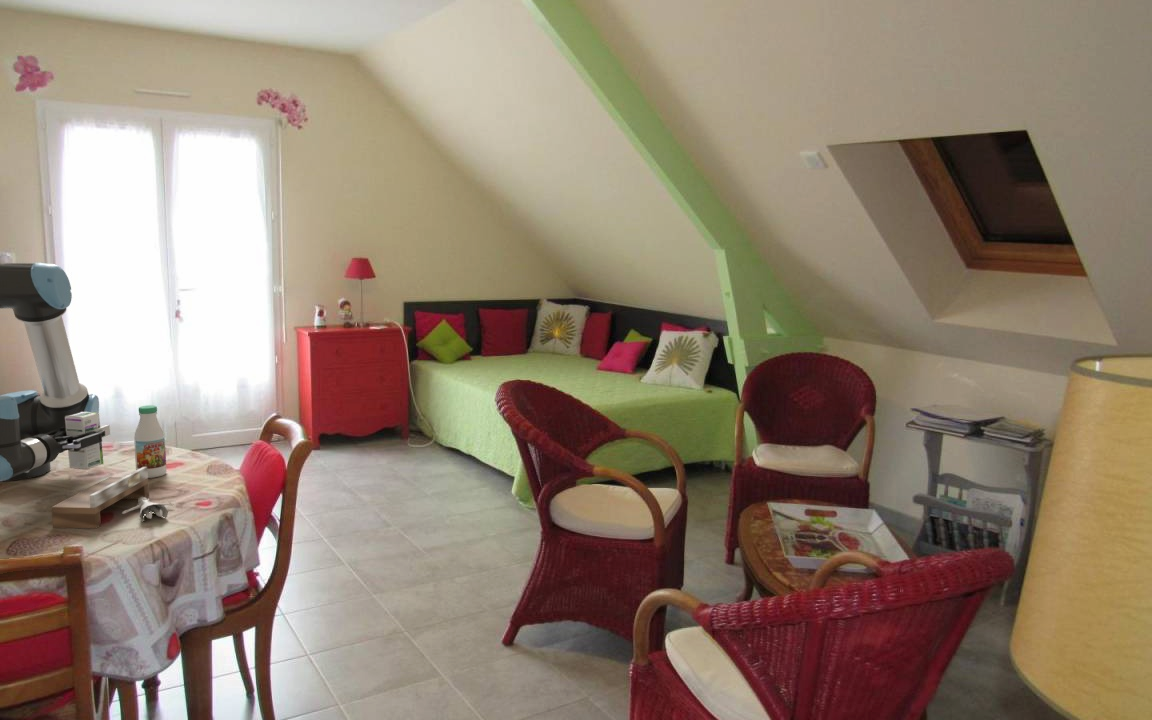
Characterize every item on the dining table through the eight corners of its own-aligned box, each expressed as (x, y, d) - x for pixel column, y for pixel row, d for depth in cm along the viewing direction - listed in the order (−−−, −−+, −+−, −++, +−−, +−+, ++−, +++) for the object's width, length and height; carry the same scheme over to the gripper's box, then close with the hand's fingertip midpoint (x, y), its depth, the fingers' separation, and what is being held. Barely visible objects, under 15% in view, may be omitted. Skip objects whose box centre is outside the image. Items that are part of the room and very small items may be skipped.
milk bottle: (130, 476, 228) (125, 407, 225) (153, 469, 235) (149, 402, 232) (149, 480, 225) (145, 410, 222) (172, 473, 232) (169, 405, 229)
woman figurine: (127, 511, 187) (115, 496, 201) (129, 529, 187) (116, 513, 202) (182, 502, 194) (166, 488, 208) (183, 520, 195) (167, 505, 209)
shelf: (110, 495, 211) (108, 466, 210) (150, 496, 211) (148, 466, 210) (52, 527, 187) (50, 494, 186) (97, 528, 187) (95, 495, 186)
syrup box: (87, 470, 213) (83, 417, 211) (68, 468, 214) (64, 415, 212) (103, 464, 219) (100, 412, 216) (85, 462, 220) (81, 410, 218)
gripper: (-2, 464, 199) (64, 440, 221) (72, 468, 197) (130, 443, 220) (-4, 435, 197) (62, 414, 220) (70, 438, 196) (129, 417, 219)
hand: (96, 429), depth 220 cm, fingers closed on syrup box, 6 cm apart
